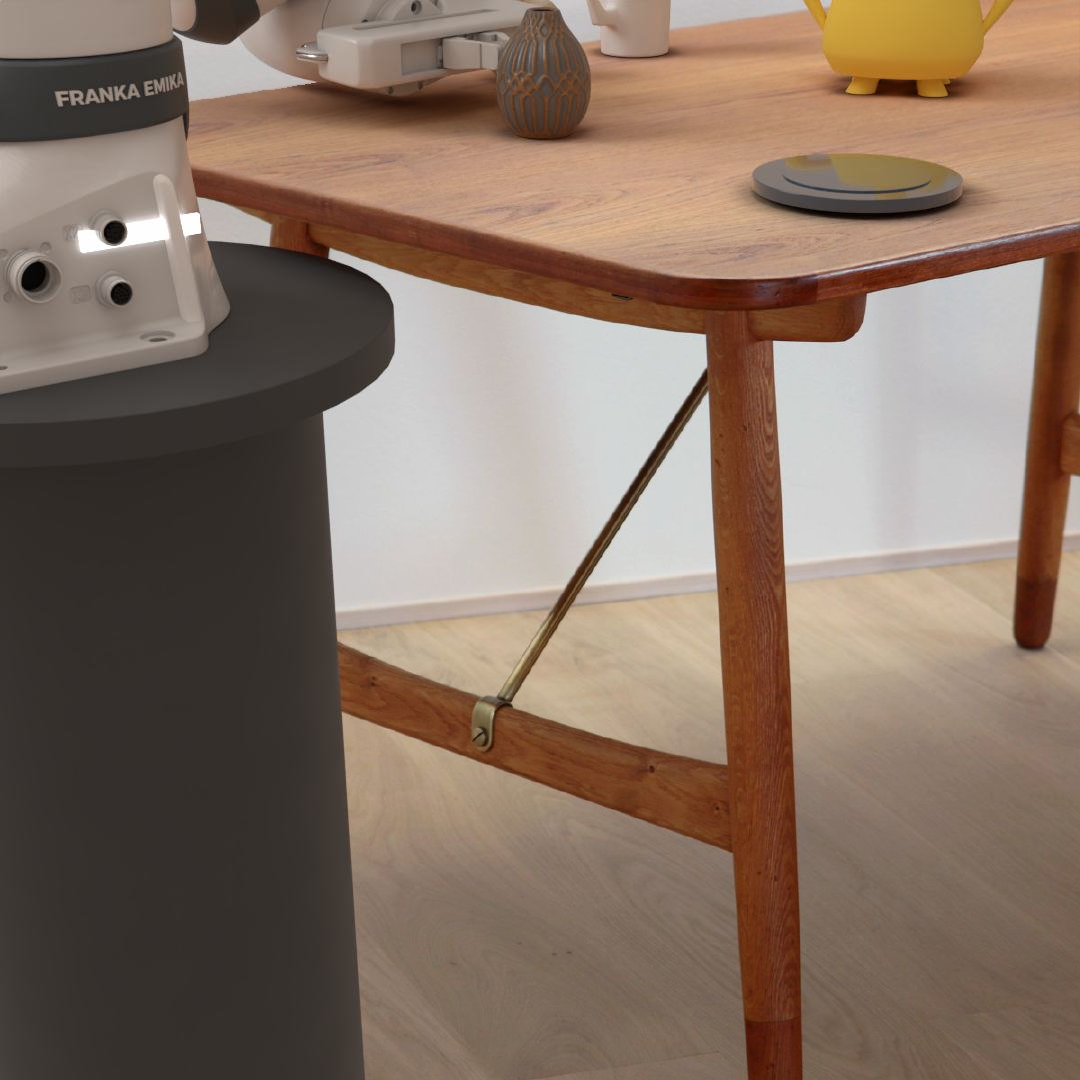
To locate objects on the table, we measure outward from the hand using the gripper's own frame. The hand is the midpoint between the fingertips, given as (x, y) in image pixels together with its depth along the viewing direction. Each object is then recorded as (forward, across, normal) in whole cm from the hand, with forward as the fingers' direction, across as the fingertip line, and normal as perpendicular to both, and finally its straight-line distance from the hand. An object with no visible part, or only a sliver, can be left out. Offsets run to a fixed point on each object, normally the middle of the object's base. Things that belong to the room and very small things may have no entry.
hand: (512, 56), depth 127 cm
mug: (-17, +30, +5) cm, 35 cm away
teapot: (+10, +35, +5) cm, 37 cm away
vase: (+3, 0, +5) cm, 6 cm away
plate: (+31, 0, +5) cm, 32 cm away
